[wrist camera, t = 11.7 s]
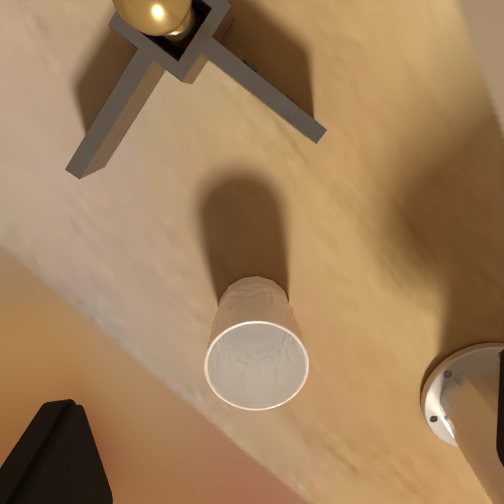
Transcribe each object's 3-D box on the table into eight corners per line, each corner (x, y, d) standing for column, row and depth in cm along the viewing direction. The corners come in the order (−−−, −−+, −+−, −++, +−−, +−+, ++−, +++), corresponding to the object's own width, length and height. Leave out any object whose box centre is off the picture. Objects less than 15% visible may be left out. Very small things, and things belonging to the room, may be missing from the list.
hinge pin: (219, 22, 34) (205, -21, 22) (190, 67, 35) (161, 50, 23) (176, -13, 33) (136, -78, 21) (148, 34, 34) (94, -3, 22)
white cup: (240, 254, 41) (238, 302, 31) (311, 294, 42) (329, 351, 33) (198, 320, 43) (185, 383, 33) (267, 355, 44) (273, 425, 35)
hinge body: (332, 101, 36) (348, 102, 31) (221, 247, 40) (217, 272, 35) (171, -32, 33) (155, -58, 27) (68, 142, 37) (36, 150, 31)
